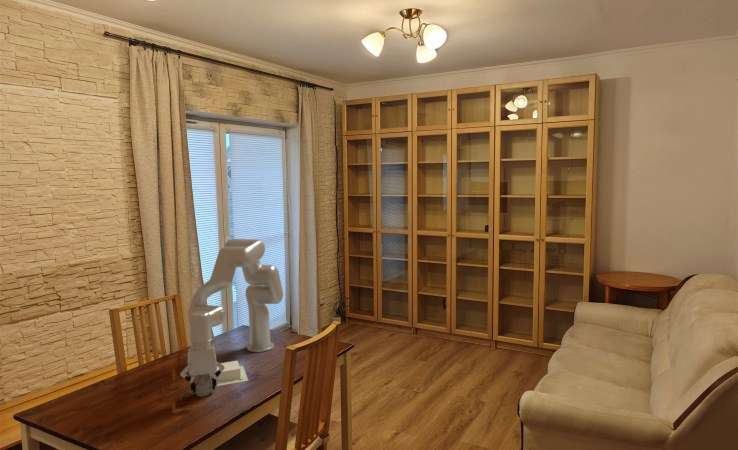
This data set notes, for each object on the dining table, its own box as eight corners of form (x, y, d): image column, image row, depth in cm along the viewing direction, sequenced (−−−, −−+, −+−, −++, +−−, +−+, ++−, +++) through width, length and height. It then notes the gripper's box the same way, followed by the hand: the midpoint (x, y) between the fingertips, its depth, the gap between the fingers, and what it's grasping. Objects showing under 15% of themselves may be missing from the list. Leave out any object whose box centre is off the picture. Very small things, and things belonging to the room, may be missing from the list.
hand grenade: (196, 403, 176) (194, 374, 174) (194, 396, 181) (192, 368, 180) (214, 398, 179) (213, 370, 177) (212, 392, 184) (210, 365, 183)
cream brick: (215, 373, 198) (215, 364, 197) (238, 369, 201) (237, 360, 201) (217, 382, 189) (217, 372, 189) (240, 378, 193) (240, 368, 192)
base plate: (209, 374, 200) (208, 370, 200) (243, 368, 205) (243, 364, 205) (211, 390, 185) (211, 386, 185) (248, 384, 191) (248, 379, 190)
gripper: (224, 337, 184) (226, 381, 186) (176, 344, 178) (179, 390, 180) (226, 344, 177) (228, 390, 179) (176, 351, 171) (179, 398, 173)
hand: (203, 389), depth 179 cm, fingers closed on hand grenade, 6 cm apart
